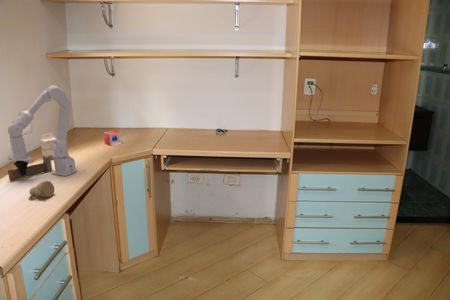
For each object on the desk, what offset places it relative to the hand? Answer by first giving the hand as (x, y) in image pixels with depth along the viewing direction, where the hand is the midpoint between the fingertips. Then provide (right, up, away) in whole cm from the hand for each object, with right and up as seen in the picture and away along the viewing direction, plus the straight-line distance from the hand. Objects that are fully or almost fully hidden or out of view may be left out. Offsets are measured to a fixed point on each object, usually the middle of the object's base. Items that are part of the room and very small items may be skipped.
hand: (23, 175), depth 177 cm
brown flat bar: (0, -1, +4) cm, 4 cm away
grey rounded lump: (+18, -8, -20) cm, 28 cm away
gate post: (+7, +1, +11) cm, 13 cm away
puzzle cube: (+25, +16, +61) cm, 68 cm away
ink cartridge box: (-1, +7, +32) cm, 33 cm away
